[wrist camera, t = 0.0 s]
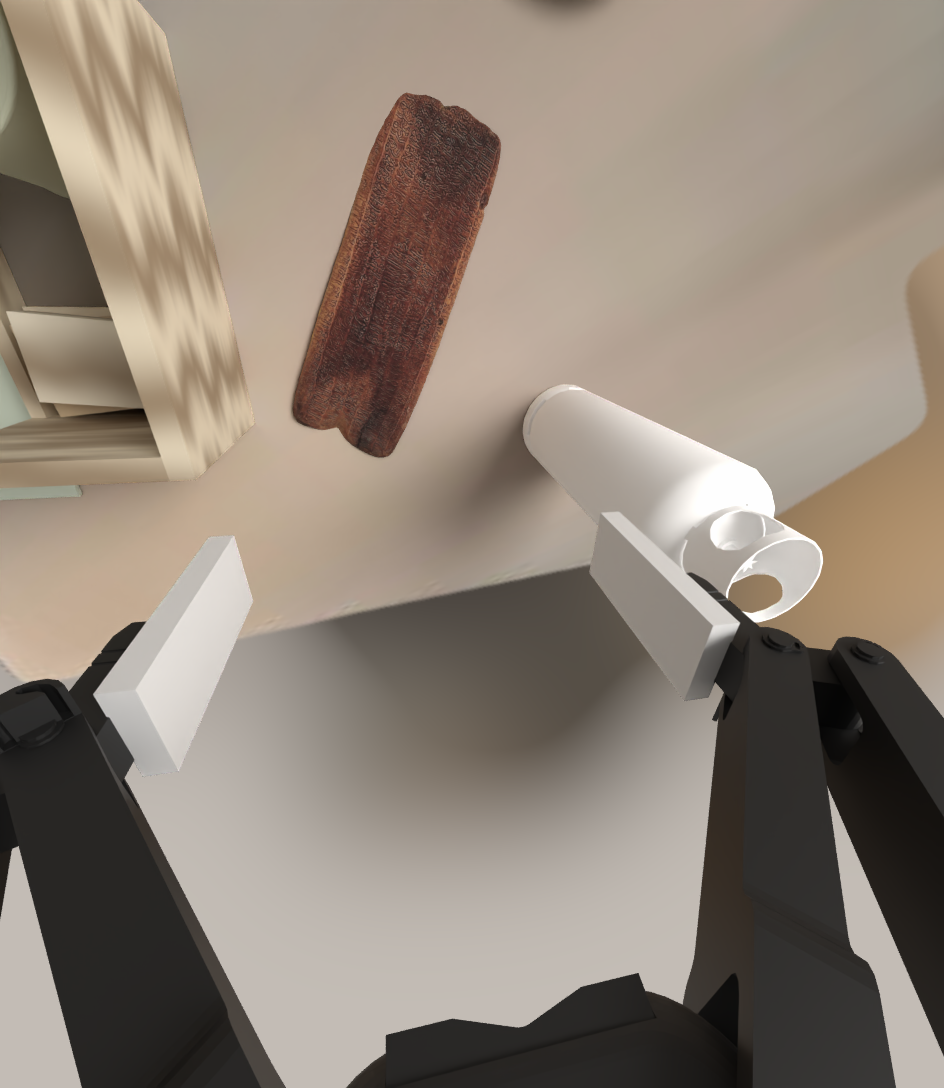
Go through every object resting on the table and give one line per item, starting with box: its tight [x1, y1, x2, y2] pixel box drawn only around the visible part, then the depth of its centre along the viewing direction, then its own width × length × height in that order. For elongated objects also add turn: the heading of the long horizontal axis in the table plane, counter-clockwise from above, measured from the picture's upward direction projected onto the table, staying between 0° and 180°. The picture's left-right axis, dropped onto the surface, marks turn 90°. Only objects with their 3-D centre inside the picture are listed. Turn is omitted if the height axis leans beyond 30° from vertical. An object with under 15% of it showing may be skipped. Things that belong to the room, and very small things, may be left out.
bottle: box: [523, 384, 823, 622], centre depth 32 cm, size 8×8×28 cm
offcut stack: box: [6, 306, 144, 417], centre depth 32 cm, size 7×10×6 cm
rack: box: [0, 0, 255, 488], centre depth 25 cm, size 24×15×14 cm, turn 179°
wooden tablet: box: [293, 93, 501, 457], centre depth 35 cm, size 26×2×10 cm
